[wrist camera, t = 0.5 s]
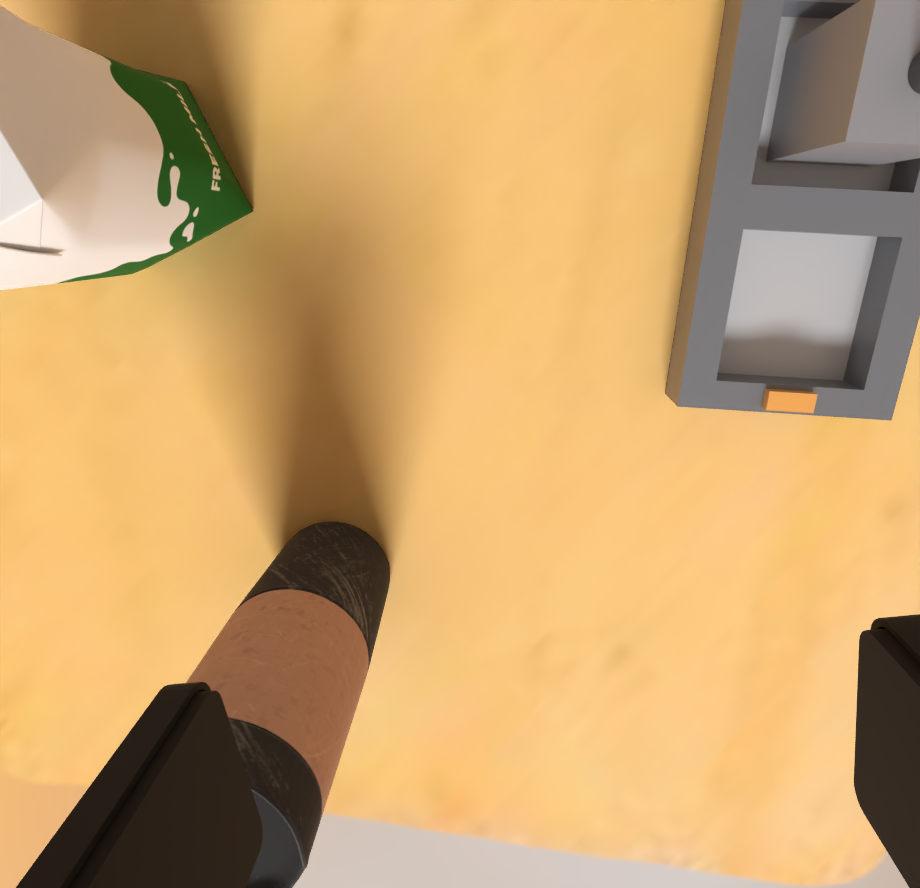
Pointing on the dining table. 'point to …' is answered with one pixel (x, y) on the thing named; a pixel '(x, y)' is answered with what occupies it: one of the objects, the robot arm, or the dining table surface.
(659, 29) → the dining table surface
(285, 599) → the travel mug
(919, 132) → the single plug
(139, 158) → the milk carton
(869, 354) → the pdu strip
